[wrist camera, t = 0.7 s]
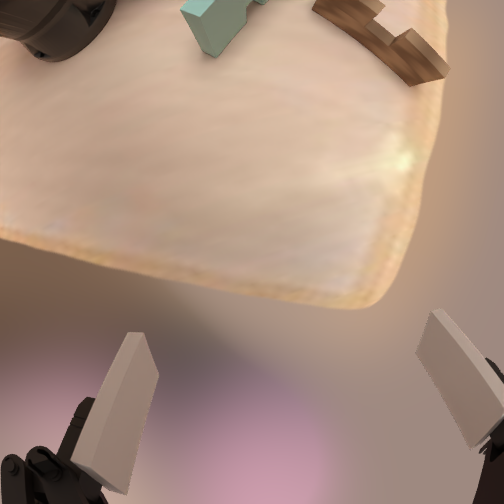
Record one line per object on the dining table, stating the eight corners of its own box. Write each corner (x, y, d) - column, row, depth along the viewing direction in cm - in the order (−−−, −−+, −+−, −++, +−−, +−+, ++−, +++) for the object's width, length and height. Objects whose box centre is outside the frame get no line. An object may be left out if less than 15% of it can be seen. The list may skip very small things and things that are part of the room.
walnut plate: (311, 9, 23) (327, -20, 16) (319, 1, 22) (336, -28, 15) (409, 86, 26) (444, 78, 19) (415, 77, 26) (450, 68, 18)
